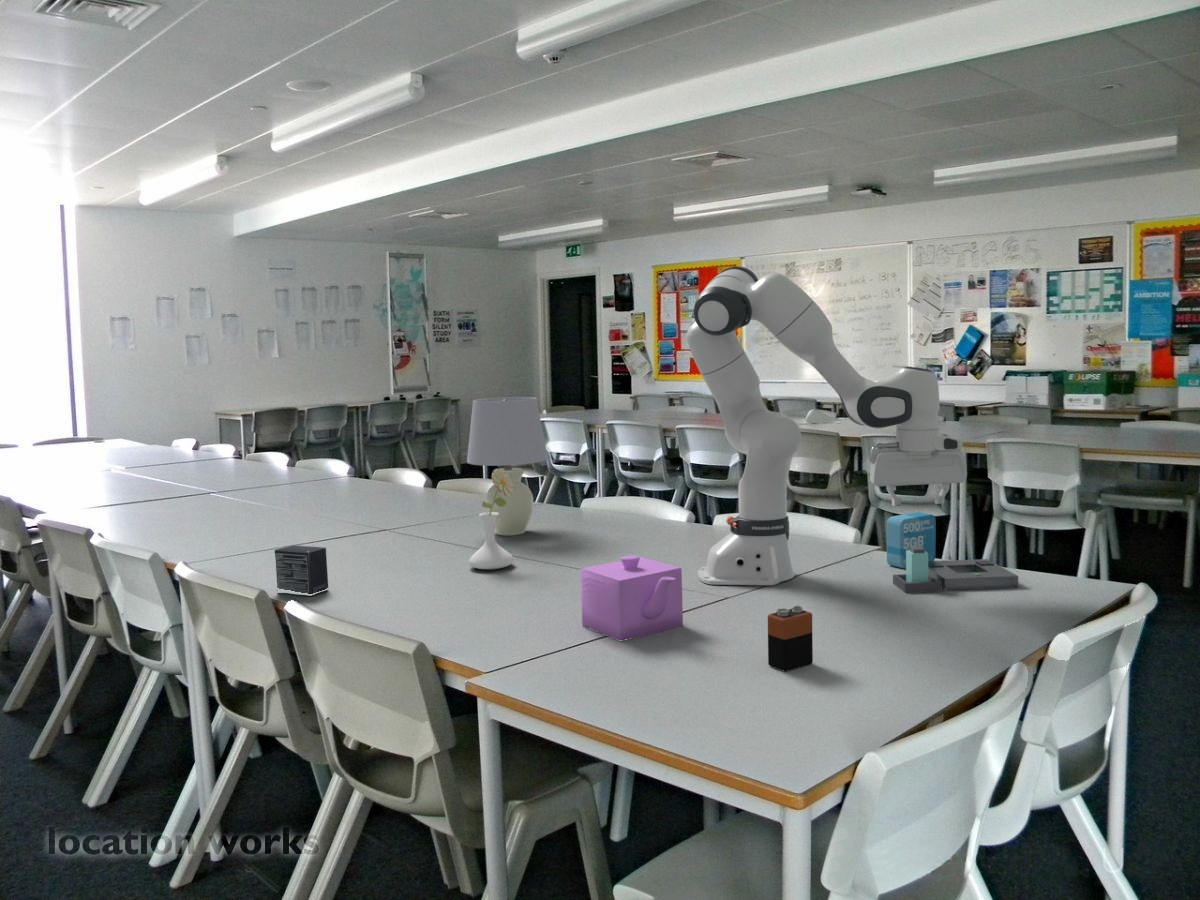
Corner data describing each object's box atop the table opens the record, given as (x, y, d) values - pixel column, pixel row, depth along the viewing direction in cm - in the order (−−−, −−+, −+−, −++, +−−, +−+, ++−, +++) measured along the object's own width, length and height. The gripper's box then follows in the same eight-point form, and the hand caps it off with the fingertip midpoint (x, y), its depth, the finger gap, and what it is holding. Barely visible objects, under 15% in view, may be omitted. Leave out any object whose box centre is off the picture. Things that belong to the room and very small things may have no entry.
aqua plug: (911, 589, 206) (911, 550, 205) (906, 585, 210) (906, 546, 209) (928, 589, 206) (928, 549, 205) (922, 585, 210) (922, 546, 209)
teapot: (643, 651, 172) (641, 575, 170) (569, 620, 192) (566, 553, 191) (707, 634, 180) (705, 562, 179) (629, 607, 201) (627, 542, 199)
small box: (330, 590, 223) (327, 546, 221) (311, 597, 217) (308, 552, 216) (296, 586, 227) (293, 543, 226) (276, 593, 221) (273, 549, 220)
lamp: (548, 539, 271) (542, 400, 267) (464, 542, 272) (457, 403, 267) (553, 523, 295) (548, 395, 290) (476, 526, 295) (470, 398, 291)
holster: (905, 592, 204) (905, 583, 204) (892, 583, 212) (892, 574, 212) (941, 591, 204) (941, 582, 204) (928, 582, 212) (928, 573, 212)
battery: (766, 666, 162) (766, 609, 161) (795, 657, 166) (795, 602, 164) (785, 673, 158) (784, 614, 157) (814, 664, 162) (813, 607, 161)
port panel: (944, 590, 205) (944, 577, 205) (918, 572, 221) (918, 560, 221) (1018, 587, 205) (1018, 575, 205) (986, 569, 221) (986, 558, 221)
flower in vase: (485, 575, 232) (480, 474, 229) (460, 568, 240) (455, 470, 238) (528, 565, 240) (524, 468, 238) (502, 559, 249) (497, 464, 246)
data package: (900, 569, 224) (900, 519, 223) (886, 566, 228) (886, 517, 227) (935, 562, 230) (936, 513, 229) (921, 559, 234) (921, 511, 233)
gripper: (874, 445, 201) (874, 509, 203) (970, 441, 201) (969, 505, 203) (865, 442, 207) (866, 504, 209) (958, 438, 208) (958, 500, 209)
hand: (917, 504), depth 206 cm, fingers open, 8 cm apart
